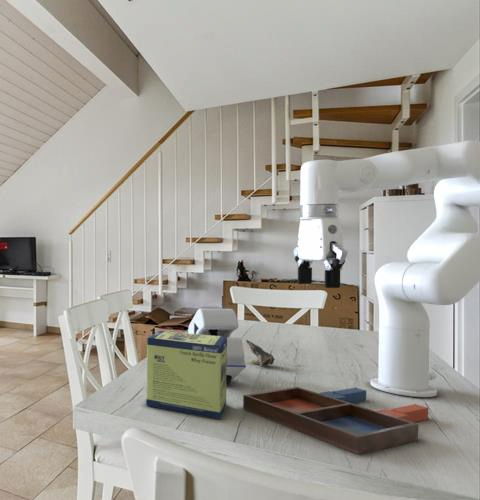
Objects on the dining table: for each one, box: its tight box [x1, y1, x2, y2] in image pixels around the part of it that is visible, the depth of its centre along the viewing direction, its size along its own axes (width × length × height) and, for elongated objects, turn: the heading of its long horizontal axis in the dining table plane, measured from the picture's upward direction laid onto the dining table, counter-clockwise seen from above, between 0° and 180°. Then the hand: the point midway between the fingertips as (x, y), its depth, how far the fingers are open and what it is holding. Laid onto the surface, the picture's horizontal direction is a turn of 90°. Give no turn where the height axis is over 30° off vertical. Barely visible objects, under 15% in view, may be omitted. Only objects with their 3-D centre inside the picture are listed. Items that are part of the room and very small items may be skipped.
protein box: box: [145, 330, 227, 420], centre depth 107 cm, size 10×16×16 cm
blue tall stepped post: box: [318, 387, 367, 404], centre depth 109 cm, size 13×4×2 cm, turn 111°
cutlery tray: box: [242, 386, 419, 456], centre depth 97 cm, size 17×24×3 cm
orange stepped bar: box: [376, 403, 429, 423], centre depth 98 cm, size 13×4×2 cm, turn 111°
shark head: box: [245, 339, 275, 368], centre depth 142 cm, size 8×6×7 cm
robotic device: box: [187, 307, 247, 386], centre depth 129 cm, size 10×21×20 cm
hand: (317, 285), depth 113 cm, fingers open, 9 cm apart
